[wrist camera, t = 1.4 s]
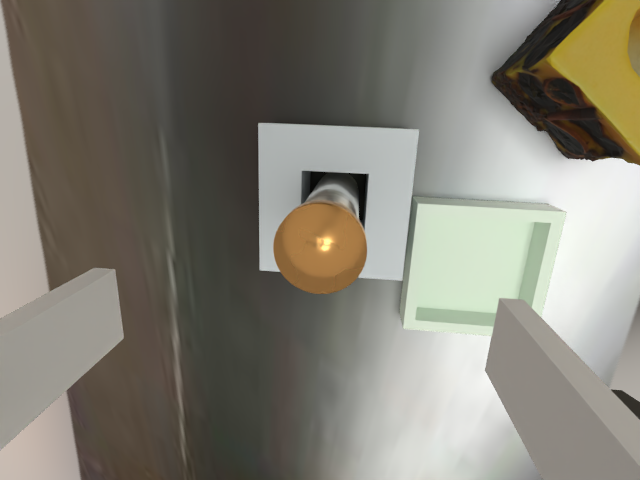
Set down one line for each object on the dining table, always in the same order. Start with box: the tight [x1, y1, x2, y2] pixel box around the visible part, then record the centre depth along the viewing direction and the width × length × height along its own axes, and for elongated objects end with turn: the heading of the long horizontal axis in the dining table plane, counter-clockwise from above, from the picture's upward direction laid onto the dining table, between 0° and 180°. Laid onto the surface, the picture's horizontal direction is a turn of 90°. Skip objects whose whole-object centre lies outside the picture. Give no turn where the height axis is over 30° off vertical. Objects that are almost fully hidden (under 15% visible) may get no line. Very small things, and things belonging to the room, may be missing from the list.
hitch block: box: [258, 123, 419, 281], centre depth 33 cm, size 12×12×6 cm
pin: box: [273, 172, 367, 294], centre depth 27 cm, size 5×5×17 cm
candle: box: [492, 0, 640, 165], centre depth 26 cm, size 10×10×10 cm
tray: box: [399, 196, 567, 336], centre depth 35 cm, size 12×12×3 cm
